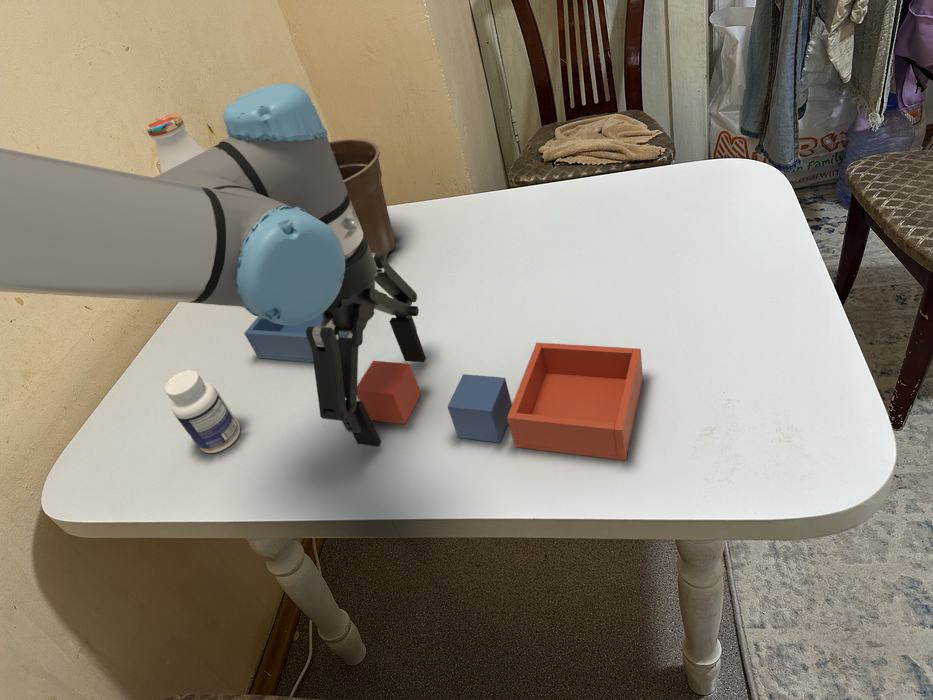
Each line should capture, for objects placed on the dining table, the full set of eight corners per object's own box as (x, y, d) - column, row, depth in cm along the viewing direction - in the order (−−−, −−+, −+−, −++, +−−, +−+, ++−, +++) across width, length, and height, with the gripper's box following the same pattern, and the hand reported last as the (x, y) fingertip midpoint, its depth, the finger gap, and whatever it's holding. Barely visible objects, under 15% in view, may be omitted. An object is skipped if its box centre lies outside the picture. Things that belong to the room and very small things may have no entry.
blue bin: (257, 358, 93) (243, 333, 90) (299, 306, 100) (287, 282, 97) (327, 363, 88) (314, 337, 85) (364, 309, 96) (354, 283, 93)
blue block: (457, 437, 73) (447, 406, 69) (472, 405, 76) (462, 373, 73) (500, 443, 71) (491, 411, 68) (513, 409, 74) (505, 377, 71)
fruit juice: (225, 309, 105) (129, 143, 87) (218, 282, 112) (128, 123, 94) (281, 285, 106) (198, 117, 88) (271, 260, 113) (192, 100, 96)
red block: (368, 420, 78) (354, 390, 75) (385, 390, 81) (372, 360, 78) (405, 424, 76) (392, 394, 73) (421, 393, 79) (410, 363, 76)
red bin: (514, 447, 70) (506, 417, 67) (542, 371, 78) (536, 342, 75) (625, 460, 65) (622, 430, 62) (643, 379, 73) (640, 348, 70)
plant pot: (424, 251, 104) (395, 156, 94) (332, 296, 100) (291, 202, 90) (385, 216, 116) (355, 129, 106) (301, 255, 112) (262, 168, 102)
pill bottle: (196, 435, 83) (155, 380, 77) (236, 414, 84) (199, 358, 78) (203, 461, 79) (161, 405, 73) (245, 440, 80) (207, 383, 74)
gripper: (297, 335, 55) (377, 489, 68) (411, 183, 71) (458, 331, 85) (227, 331, 58) (317, 479, 71) (352, 186, 74) (406, 328, 88)
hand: (394, 399), depth 78 cm, fingers open, 13 cm apart
